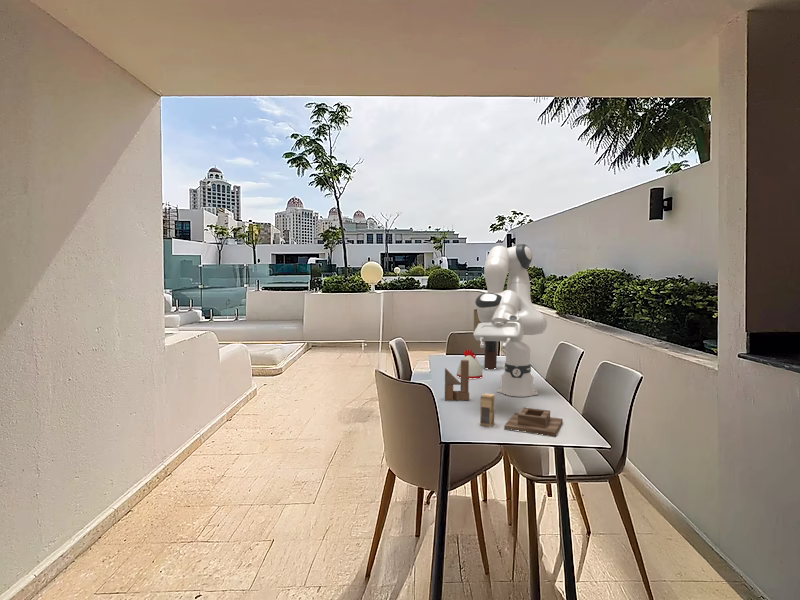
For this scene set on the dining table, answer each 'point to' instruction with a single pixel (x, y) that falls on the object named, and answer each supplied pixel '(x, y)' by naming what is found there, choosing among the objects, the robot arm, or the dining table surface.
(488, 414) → the tan rectangular box
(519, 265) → the robot arm
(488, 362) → the lamp
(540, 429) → the post base
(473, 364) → the kitchen timer
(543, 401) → the dining table surface
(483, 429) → the dining table surface
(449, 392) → the wooden block
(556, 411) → the dining table surface
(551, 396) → the dining table surface
